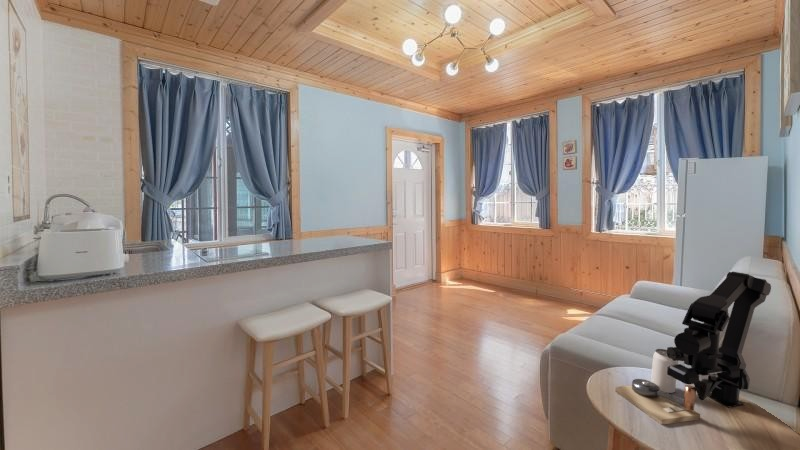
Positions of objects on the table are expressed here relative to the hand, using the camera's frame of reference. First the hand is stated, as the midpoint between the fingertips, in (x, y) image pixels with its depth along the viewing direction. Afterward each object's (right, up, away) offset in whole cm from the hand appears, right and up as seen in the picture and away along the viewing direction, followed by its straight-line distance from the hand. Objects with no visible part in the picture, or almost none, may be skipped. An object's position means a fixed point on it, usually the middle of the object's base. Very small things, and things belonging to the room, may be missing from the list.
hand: (701, 399), depth 100 cm
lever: (-7, -3, +6) cm, 10 cm away
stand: (-9, -4, +6) cm, 12 cm away
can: (0, -4, +15) cm, 15 cm away
